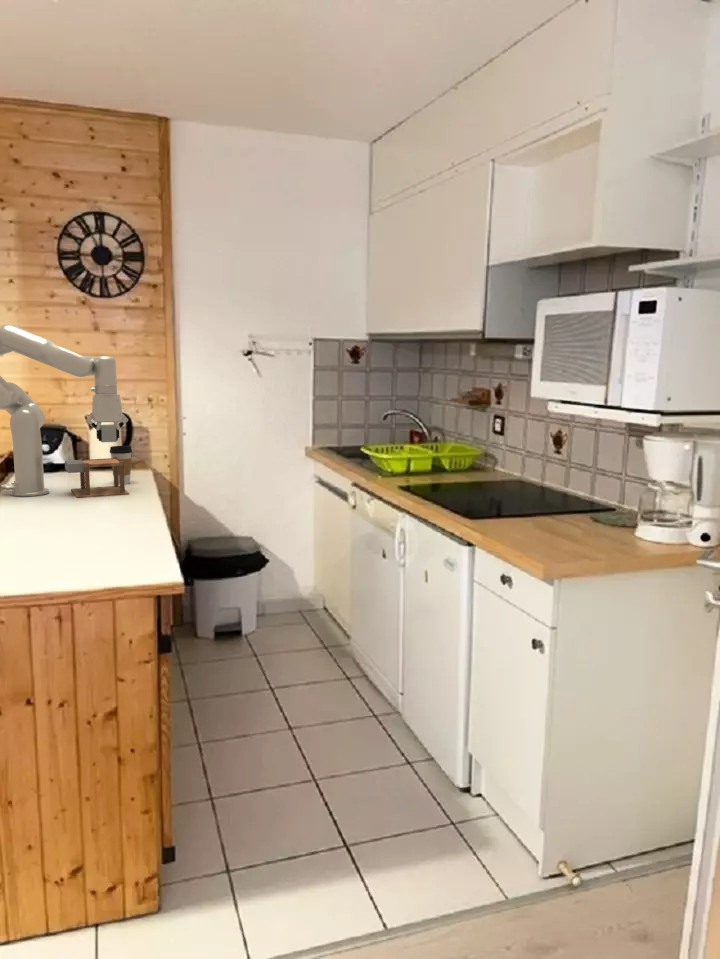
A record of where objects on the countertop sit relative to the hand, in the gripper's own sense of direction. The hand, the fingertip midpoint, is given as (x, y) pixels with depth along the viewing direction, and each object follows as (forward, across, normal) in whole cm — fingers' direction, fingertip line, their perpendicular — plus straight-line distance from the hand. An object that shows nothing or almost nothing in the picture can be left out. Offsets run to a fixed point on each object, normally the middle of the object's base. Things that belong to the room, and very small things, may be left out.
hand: (108, 440), depth 274 cm
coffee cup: (+19, +7, +17) cm, 27 cm away
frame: (+19, -4, 0) cm, 20 cm away
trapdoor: (+11, -6, 0) cm, 12 cm away
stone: (+1, 0, 0) cm, 1 cm away
